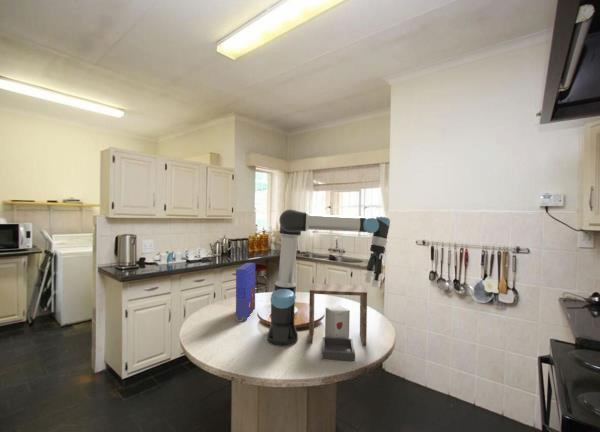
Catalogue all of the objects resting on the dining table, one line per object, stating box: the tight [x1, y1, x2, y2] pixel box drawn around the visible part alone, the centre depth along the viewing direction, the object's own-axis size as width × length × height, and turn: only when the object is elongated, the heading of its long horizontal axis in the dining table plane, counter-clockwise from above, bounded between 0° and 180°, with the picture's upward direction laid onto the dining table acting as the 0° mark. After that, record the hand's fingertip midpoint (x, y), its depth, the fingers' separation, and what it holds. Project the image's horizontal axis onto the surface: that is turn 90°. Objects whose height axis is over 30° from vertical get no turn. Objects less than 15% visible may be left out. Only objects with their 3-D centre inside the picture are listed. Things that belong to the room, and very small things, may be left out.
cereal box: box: [235, 262, 256, 322], centre depth 174 cm, size 22×6×30 cm, turn 175°
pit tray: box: [321, 336, 356, 362], centre depth 127 cm, size 14×14×4 cm
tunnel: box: [308, 282, 368, 347], centre depth 142 cm, size 27×14×26 cm, turn 84°
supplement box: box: [324, 304, 351, 339], centre depth 142 cm, size 9×9×15 cm
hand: (370, 284), depth 150 cm, fingers open, 13 cm apart
